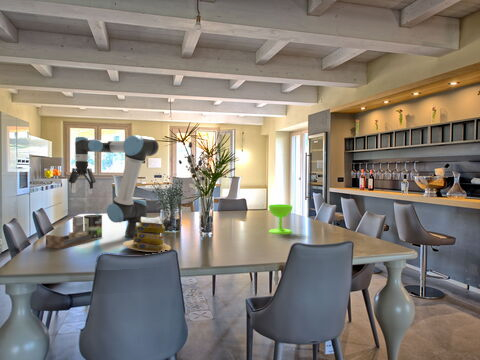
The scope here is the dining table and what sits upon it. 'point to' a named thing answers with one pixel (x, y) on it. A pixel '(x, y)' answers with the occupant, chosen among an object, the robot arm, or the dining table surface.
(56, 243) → the press bed
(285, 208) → the wineglass
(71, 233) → the press ram
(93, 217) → the coffee can
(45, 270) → the dining table surface
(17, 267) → the dining table surface
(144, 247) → the stacked food plate
